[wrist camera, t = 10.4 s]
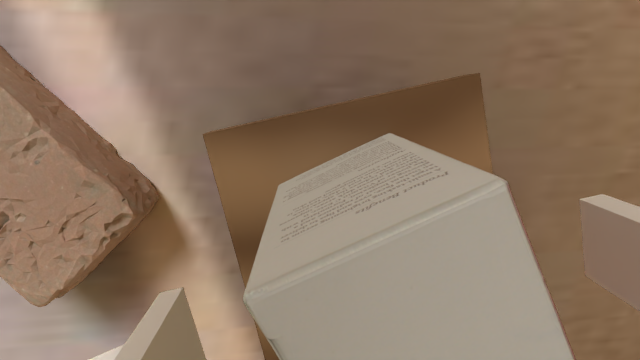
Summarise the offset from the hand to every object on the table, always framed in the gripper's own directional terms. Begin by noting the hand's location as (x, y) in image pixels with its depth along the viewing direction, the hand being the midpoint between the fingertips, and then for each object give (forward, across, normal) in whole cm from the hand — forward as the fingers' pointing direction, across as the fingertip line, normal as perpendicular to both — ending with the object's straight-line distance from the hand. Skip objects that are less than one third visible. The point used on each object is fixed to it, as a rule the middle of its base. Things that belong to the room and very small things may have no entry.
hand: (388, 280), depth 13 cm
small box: (+5, 0, 0) cm, 6 cm away
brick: (+14, -19, +7) cm, 25 cm away
